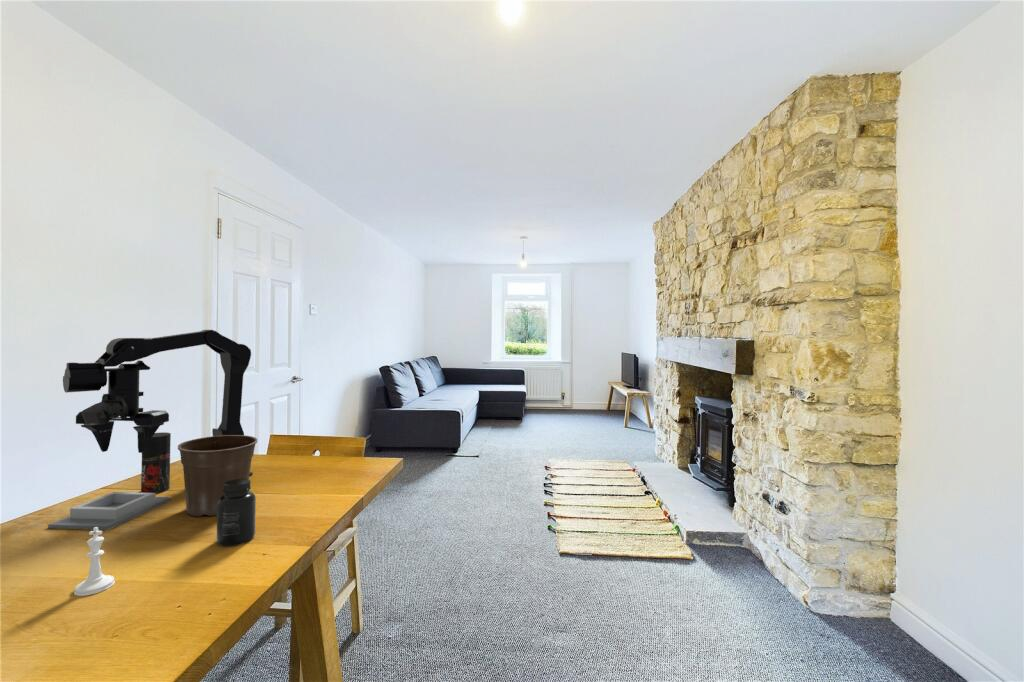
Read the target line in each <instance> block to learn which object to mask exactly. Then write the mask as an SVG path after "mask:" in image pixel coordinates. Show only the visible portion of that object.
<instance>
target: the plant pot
mask: <svg viewBox="0 0 1024 682" xmlns="http://www.w3.org/2000/svg"><path fill="white" fill-rule="evenodd" d="M257 443H258V438H256V437H254V436H250V435H245V434H244V435H222V436H213V435H212V436H205V437H201V438H199V437H198V438H194V439H191V440H186V441H183V442H181V443H179V444H178V445H177V450H178V451H179V455H180V464H181V465H182V467H183V468H182V469H183V480H184V481H183V483H184V495H185V509H186V513H187V514H188V515H191V516H193V517H202V516H203V515H206V516H208V517H214V516H217V502H218V500H219V499H220V498H221V497H222V496H223V495H224V494H223V485H224V483H225V482H227V481H230V480H235V479H249V480H250V476H251V475H250V472H251V465H252V458H253V457H254V453H255V447H256V444H257ZM249 475H250V476H249Z"/></svg>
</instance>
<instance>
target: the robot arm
mask: <svg viewBox="0 0 1024 682" xmlns="http://www.w3.org/2000/svg"><path fill="white" fill-rule="evenodd" d="M205 345H206V346H207V347H208V348H209V349H211V350H213V351H214V352H215V353H217V354H219V358H220V359H219V360H220V364H221V367H222V370H223V373H224V380H223V382H224V383H223V395H222V406H221V407H222V409H221V410H222V411H221V421H220V424H219V426H218V427H217V428H212V436H222V435H245V433H244V430H243V427H242V423H241V416H242V415H241V412H242V399H243V385H244V384H243V382H244V375H245V372H246V371H247V369H248V367H249V366H250V361H251V357H252V350H251V349H250V348H249V347H248V345H245V344H244V343H238V342H236V341H235V340H233V339H230V338H228V337H227V336H225V335H222V334H220V333H219V332H218V331H216V330H214V329H202V330H199V331H192V332H187V333H179V334H174V335H172V334H171V335H164V336H158V337H120V338H119V337H117V338H113V339H111V340H110V341H109V343H107V345H106V347H105V352H103V354H102V355H100V356H99V357H98V359H96V360H95V361H94V362H67V363H66V365H65V367H66V368H65V370H64V374H63V376H62V387H63V391H64V392H65V393H81V392H94V391H98V392H99V391H100V390H101V389H102V388H105V387H106V386H107V393H103V394H102V397H101V401H100V402H97V403H94V404H93V405H90V406H89V407H87V408H84V409H83V410H82V411H79V412H78V413H77V414H76V415H75V424H77V425H80V427H81V428H85V429H87V430H88V431H91V434H93V436H94V439H95V440H96V442H97V444H98V446H99V448H100V451H101V452H102V453H104V452H108V449H109V447H110V444H111V439H112V434H113V429H114V425H115V421H116V422H117V421H119V422H120V421H121V422H134V424H135V425H136V426H133V429H134V430H135V431H136V433H137V450H138V453H140V454H142V452H144V450H145V449H146V447H147V445H148V443H149V442H150V440H151V438H152V437H153V435H154V433H157V431H158V429H159V428H160V427H161V426H164V425H165V423H168V422H170V414H169V412H168V411H166V410H157V409H156V410H152V409H151V410H149V411H147V410H146V411H144V407H140V397H142V396H144V393H145V392H144V391H140V371H149V370H151V367H150V366H148V365H147V364H146V363H145V362H144V361H143V360H141V359H145V358H147V357H151V356H152V355H155V354H158V353H161V352H167V351H173V350H179V349H185V348H190V347H191V348H193V347H198V346H205ZM134 361H136V362H134ZM129 362H130V363H129ZM132 362H134V363H132ZM117 366H118V367H117ZM112 367H113V368H112ZM253 474H254V472H251V471H250V475H249V477H250V476H252V475H253Z"/></svg>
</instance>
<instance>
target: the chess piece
mask: <svg viewBox="0 0 1024 682" xmlns="http://www.w3.org/2000/svg"><path fill="white" fill-rule="evenodd" d="M102 534H103V530H98V527H95V528H93V529H92V530H91V531H89V533H88V535H90V536H92V535H93V536H92V537H91V538H89V539H88V540H87V542H86V543H87V545H88V548H89V549H90V552H88V553H86V558H91V560H90V565H89V570H88V575H87V577H86V578H85V579H84V580H83V581H80V583H78V584H77V585H76V586H75V587H74V591H73V594H74V595H75V596H76V597H77V596H78V597H84V596H90V595H95V594H98V593H101V592H104V591H105V590H106V591H107V589H110V588H111V587H113V586H114V584H115V577H114V576H113V575H111V574H110V575H109V574H104V573H102V568H101V559H100V556H102V555H103V554H104V553H105V551H104V549H101V548H102V544H103V542H104V540H105V538H104V537H103V536H99V535H102Z"/></svg>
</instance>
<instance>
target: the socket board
mask: <svg viewBox="0 0 1024 682" xmlns="http://www.w3.org/2000/svg"><path fill="white" fill-rule="evenodd" d="M171 501H172V496H171V497H170V496H156V494H155V493H141V492H137V491H136V492H135V491H134V492H133V491H132V492H131V491H130V492H129V491H112V492H110V493H107V494H104V495H102V496H100V497H97V498H93V499H92V500H89V501H86V502H83V503H81V504H78V505H75V506H73V507H70V508H69V516H65V517H63V518H61V519H59V520H56V521H53V522H51V523H48V524H47V528H48V529H60V530H61V529H62V530H63V529H64V530H68V529H69V530H93V528H95V527H98V531H109V530H110V529H112V528H115V527H117V526H119V525H122V524H124V523H126V522H128V521H130V520H132V519H134V518H137V517H138V516H140V515H142V514H145V513H147V512H149V511H151V510H153V509H156V508H158V507H159V506H162V505H164V504H166V503H168V502H171Z"/></svg>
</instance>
